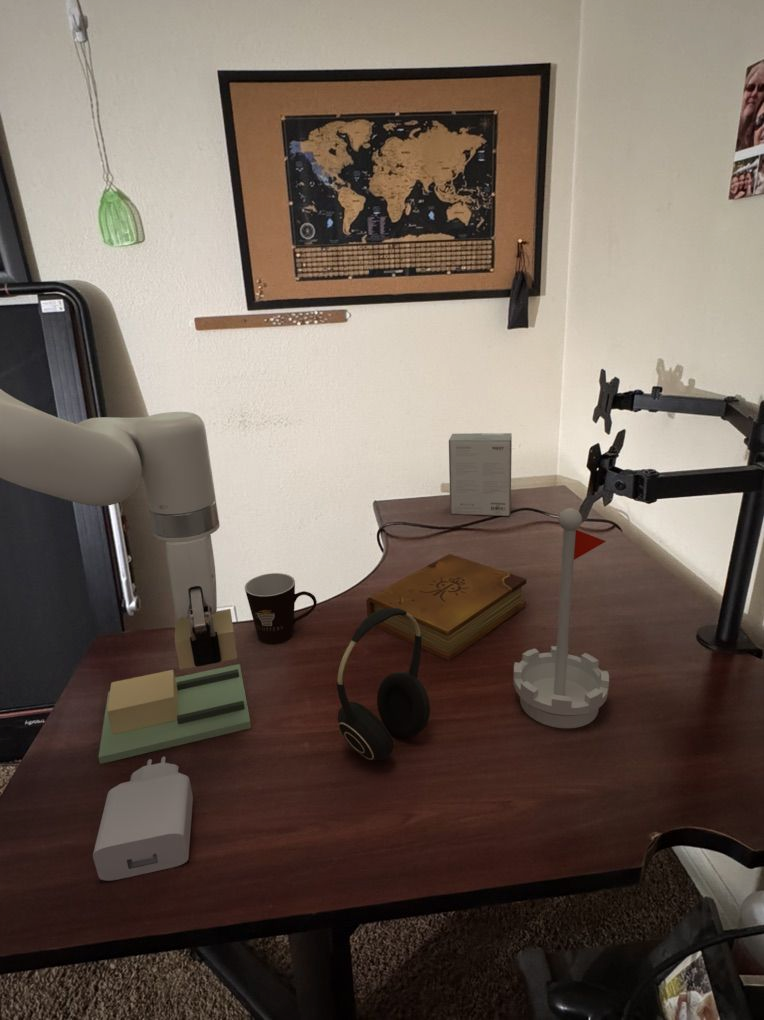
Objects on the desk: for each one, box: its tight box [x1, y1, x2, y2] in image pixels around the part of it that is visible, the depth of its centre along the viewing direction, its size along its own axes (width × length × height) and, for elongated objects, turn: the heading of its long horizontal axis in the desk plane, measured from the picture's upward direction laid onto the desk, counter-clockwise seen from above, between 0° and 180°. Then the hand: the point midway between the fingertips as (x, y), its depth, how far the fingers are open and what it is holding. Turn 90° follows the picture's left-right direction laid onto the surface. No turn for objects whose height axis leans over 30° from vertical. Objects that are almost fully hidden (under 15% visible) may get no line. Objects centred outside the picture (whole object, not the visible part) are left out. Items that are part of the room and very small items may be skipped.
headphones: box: [336, 608, 431, 761], centre depth 81 cm, size 9×15×20 cm, turn 135°
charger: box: [92, 756, 194, 882], centre depth 74 cm, size 5×9×15 cm
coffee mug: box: [244, 572, 318, 645], centre depth 109 cm, size 12×9×10 cm
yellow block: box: [174, 608, 238, 671], centre depth 80 cm, size 7×6×4 cm
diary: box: [365, 553, 527, 662], centre depth 115 cm, size 23×19×6 cm
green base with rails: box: [98, 663, 252, 765], centre depth 92 cm, size 20×15×5 cm
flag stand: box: [512, 507, 610, 729], centre depth 86 cm, size 13×13×30 cm
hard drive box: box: [448, 432, 513, 517], centre depth 161 cm, size 16×8×20 cm, turn 77°
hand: (207, 647), depth 81 cm, fingers closed on yellow block, 6 cm apart
